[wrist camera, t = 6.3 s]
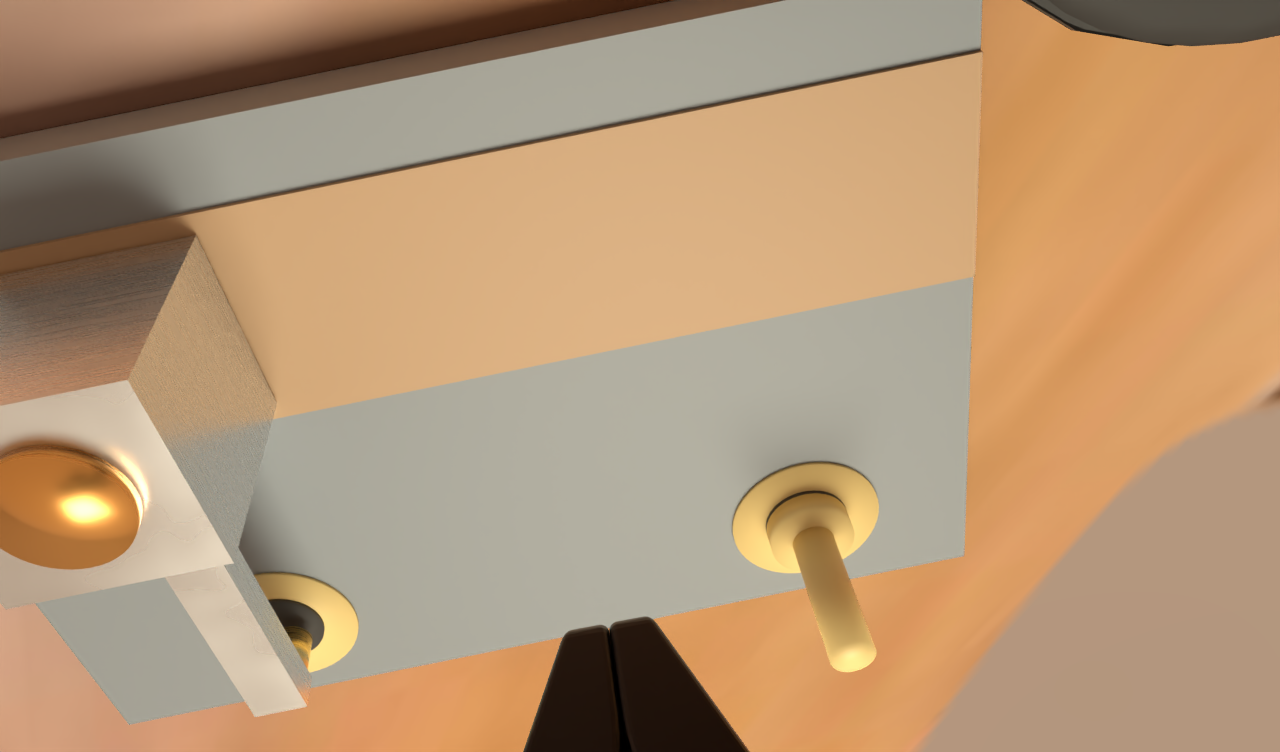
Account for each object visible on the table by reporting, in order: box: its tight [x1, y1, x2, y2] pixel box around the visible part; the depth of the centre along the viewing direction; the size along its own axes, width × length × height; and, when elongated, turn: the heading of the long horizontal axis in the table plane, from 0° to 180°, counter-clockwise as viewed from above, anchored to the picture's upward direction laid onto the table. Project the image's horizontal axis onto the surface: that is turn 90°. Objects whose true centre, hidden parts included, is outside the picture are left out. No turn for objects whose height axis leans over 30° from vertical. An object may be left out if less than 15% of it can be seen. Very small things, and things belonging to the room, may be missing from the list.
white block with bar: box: [0, 235, 313, 717], centre depth 20 cm, size 4×11×5 cm, turn 10°
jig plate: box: [0, 0, 983, 725], centre depth 21 cm, size 22×15×5 cm
